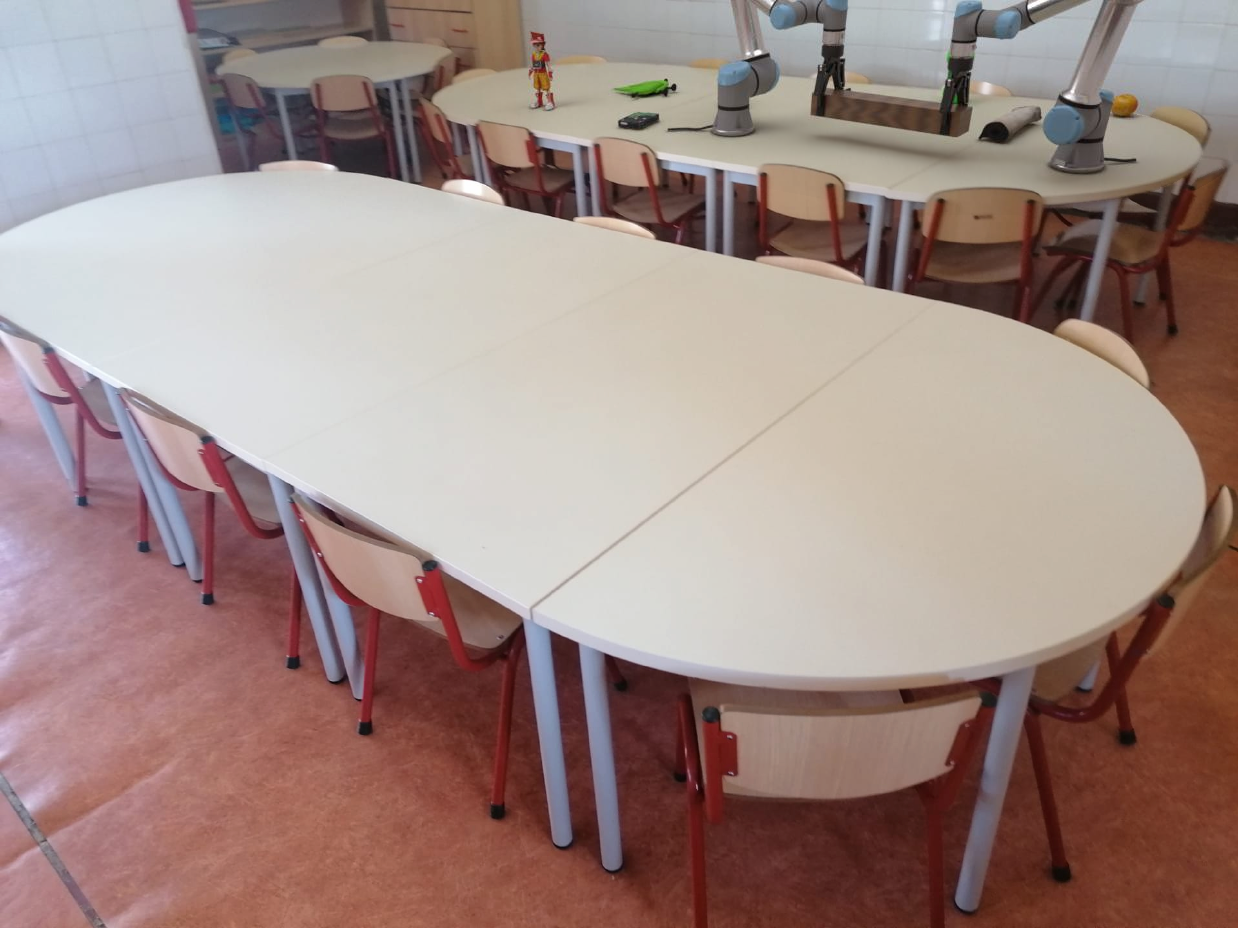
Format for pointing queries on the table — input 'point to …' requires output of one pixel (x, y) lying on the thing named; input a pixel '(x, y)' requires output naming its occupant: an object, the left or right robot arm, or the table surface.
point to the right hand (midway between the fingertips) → (950, 131)
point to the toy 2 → (648, 88)
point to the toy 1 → (541, 71)
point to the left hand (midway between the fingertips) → (827, 112)
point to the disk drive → (638, 120)
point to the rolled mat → (1010, 123)
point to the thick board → (892, 112)
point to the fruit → (1124, 105)
